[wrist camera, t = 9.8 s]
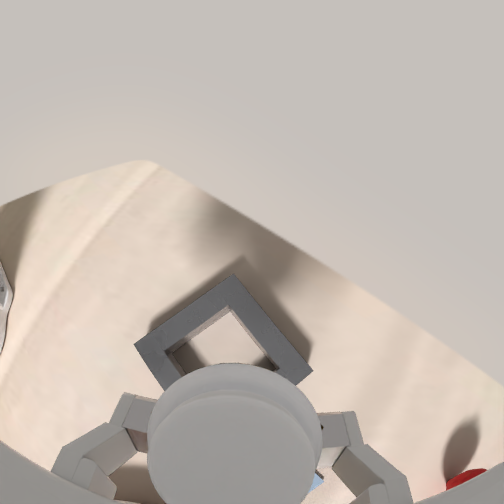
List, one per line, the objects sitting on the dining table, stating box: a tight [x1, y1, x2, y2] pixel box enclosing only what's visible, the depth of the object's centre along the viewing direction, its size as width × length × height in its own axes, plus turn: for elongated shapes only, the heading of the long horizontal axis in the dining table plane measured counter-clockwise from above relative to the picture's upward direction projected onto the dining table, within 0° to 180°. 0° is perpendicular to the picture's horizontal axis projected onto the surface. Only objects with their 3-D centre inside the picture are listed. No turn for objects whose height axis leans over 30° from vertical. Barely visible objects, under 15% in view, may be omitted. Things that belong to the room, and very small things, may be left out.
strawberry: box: [446, 469, 487, 491], centre depth 15 cm, size 6×8×10 cm
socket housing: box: [134, 274, 313, 391], centre depth 25 cm, size 12×12×3 cm
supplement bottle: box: [147, 363, 323, 504], centre depth 9 cm, size 6×6×10 cm
